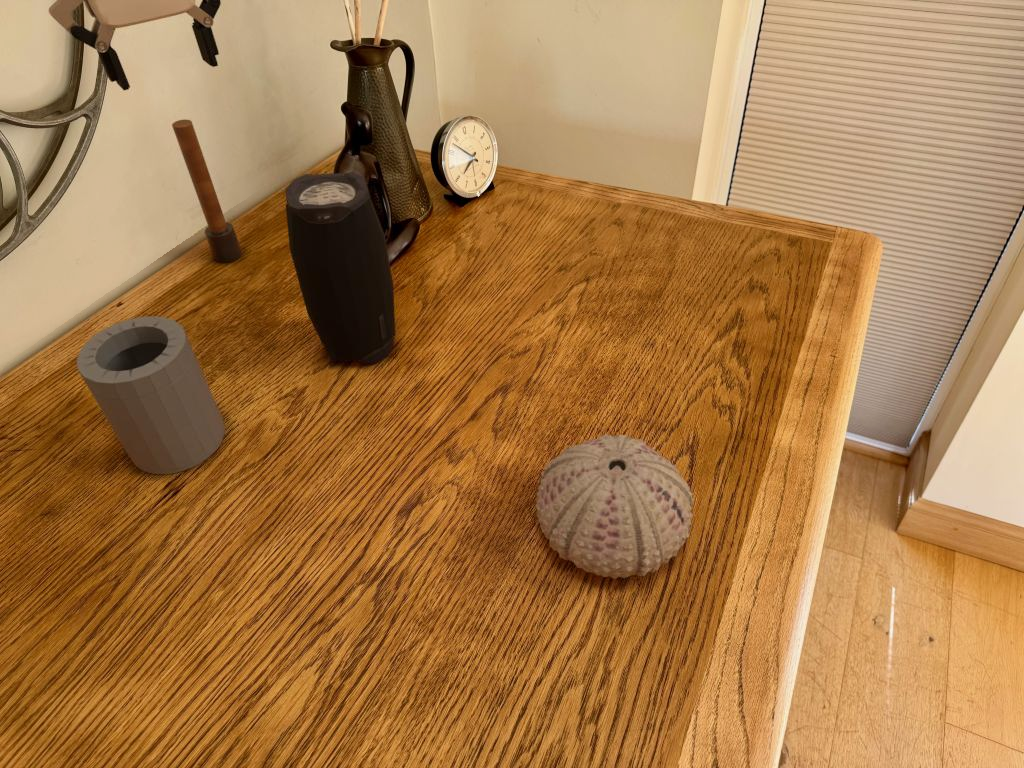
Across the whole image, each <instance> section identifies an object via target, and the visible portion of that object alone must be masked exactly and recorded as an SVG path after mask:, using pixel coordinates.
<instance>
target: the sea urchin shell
mask: <svg viewBox="0 0 1024 768" xmlns="http://www.w3.org/2000/svg"><path fill="white" fill-rule="evenodd" d="M543 469H544V470H543V471H541V472H540V474H541V479H540V484H539V485H538V488H537V489H538V492H537V493H536V494H535V496H536V497H537V498H536V499H535V503H536V504H535V506H534V507H535V509H536V510H537V512H536V517H537V518H538V519H537V520H538V523H539V524H540V525H539V527H540V529H541V533H543V534H544V537H545V538H546V539H547V540H549V548H552V551H555V552H557V553H558V556H559V559H563V560H566V561H571V562H572V563H573V564H574V565H575V567H576V568H577V569H582V570H583V571H584V572H586V573H593V574H594V575H596V576H598V577H599V576H602V577H603V578H607V577H609V578H612V579H613V580H616V579H618V578H622V579H625V578H628V577H630V576H638V577H645V576H646V575H647V574H648V573H651V574H654V573H655V572H656V571H658V570H659V568H660V567H661V565H662V564H668V563H669V561H670V559H671V558H674V557H677V555H678V553H679V550H680V548H682V547H683V546H685V545H684V544H685V543H686V540H687V539H688V538H689V537H690V535H689V532H690V531H691V530H692V529H691V525H692V518H693V514H692V512H691V511H692V509H693V504H694V503H695V499H694V498H693V495H694V494H693V492H691V491H690V490H691V487H690V485H689V483H688V482H687V481H685V478H684V477H683V476H681V474H680V471H679V469H677V468H676V465H675V464H672V462H671V460H669V459H667V458H665V457H664V456H663V455H661V453H659V452H658V451H656V450H655V449H653V448H652V447H651V446H649V445H648V444H647V443H645V442H644V440H643V438H642V439H640V438H637V439H635V438H633V437H631V436H629V435H625V434H614V435H612V436H611V435H610V434H607V433H605V434H602V435H601V436H599V437H596V438H592V439H588V440H586V441H583V442H580V443H578V444H573V445H569V446H568V448H564V450H563V452H561V454H559V455H558V456H556V457H554V458H552V459H551V460H550V461H548V462H547V463H546V466H545V467H544V468H543Z"/></svg>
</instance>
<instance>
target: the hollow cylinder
mask: <svg viewBox="0 0 1024 768" xmlns="http://www.w3.org/2000/svg"><path fill="white" fill-rule="evenodd" d="M76 368H77V371H78V373H79V375H80V376H81V378H82V380H83V382H84V384H85V385H86V387H87V389H88V390H89V391H90V393H91V395H92V396H93V398H94V400H95V402H96V403H97V405H98V407H99V409H100V410H101V412H102V414H103V415H104V417H105V418H106V420H107V422H108V423H109V425H110V427H111V429H112V430H113V432H114V434H115V435H116V437H117V438H118V440H119V443H120V444H121V446H122V447H123V449H124V450H125V452H126V454H127V456H128V457H129V459H130V460H131V461H132V463H133V464H134V465H135V467H137V468H138V469H139V470H141V471H143V472H145V473H148V474H153V475H171V474H176V473H177V474H178V473H180V472H181V473H182V472H184V471H187V470H189V469H192V468H194V467H197V466H198V465H200V464H201V463H203V462H205V461H206V460H208V458H210V457H211V456H212V455H213V454H214V453H215V452H216V451H217V450H218V448H219V447H220V446H221V444H222V442H223V440H224V437H225V433H226V424H225V421H224V419H223V417H222V414H221V412H220V409H219V407H218V404H217V402H216V400H215V398H214V395H213V393H212V391H211V388H210V386H209V384H208V381H207V379H206V376H205V375H204V372H203V370H202V368H201V365H200V363H199V361H198V358H197V356H196V354H195V351H194V349H193V347H192V344H191V343H190V340H189V338H188V336H187V333H186V331H185V328H184V327H183V326H182V325H180V324H179V322H177V320H174V319H171V318H168V317H165V316H156V315H155V316H154V315H150V316H140V317H134V318H133V317H132V318H128V319H125V320H122V321H119V322H116V323H114V324H112V325H111V326H107V327H106V328H104V329H102V330H100V331H99V332H98V333H96V334H95V335H93V336H92V337H90V338H89V339H88V340H87V341H86V343H85V344H84V345H83V346H82V347H81V348H80V350H79V353H78V355H77V358H76Z"/></svg>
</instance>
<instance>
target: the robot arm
mask: <svg viewBox="0 0 1024 768" xmlns="http://www.w3.org/2000/svg"><path fill="white" fill-rule="evenodd" d="M83 3H84V5H85V7H86V10H87V12H88V13H89V15H90V16H91V17H92V18H94V20H93V23H92V26H91V29H90V30H89V29H88V28H85V27H84V26H82V25H80V24H78V22H76V21H75V20H74V19H73V16H72V13H74V11H75V10H76V9H77V8H79V6H81V4H83ZM221 5H222V2H221V0H201V1H200V5H199V6H198V5H197V4H196V0H56V1H55V2H54V3H52V4H51V5H50V6H49V8H48V14H49V15H50V16H51V17H52V18H53V19H54V20H55V21H56V22H57V23H58V24H59V25H60V26H61V27H62V28H64V30H66V31H67V32H68V33H69V34H70V35H71V36H72V37H73V38H74V39H76V40H77V41H80V42H81V43H83V44H85V45H86V46H89V47H90V48H93V50H96V53H97V54H98V57H99V60H100V62H101V64H102V67H103V69H104V71H105V74H106V76H107V78H108V80H109V81H110V82H111V83H113V82H116V84H117V85H118V86H119V87H120V88H121V89H122V91H128V90H130V88H131V85H130V82H129V79H128V78H127V75H126V73H125V70H124V68H123V65H122V63H121V60H120V58H119V55H118V53H117V51H116V50H115V49H114V48H113V47H112V46H111V43H112V40H113V36H114V34H115V31H116V29H120V28H121V29H122V28H126V27H130V26H136V25H140V24H144V23H150V22H153V21H157V20H162V19H167V18H171V17H175V16H179V15H182V14H185V13H186V14H187V15H189V16H190V17H191V18H192V19H193V22H192V25H191V29H192V31H193V35H194V37H195V38H194V39H195V40H196V44H197V47H198V50H199V54H200V56H201V59H202V60H203V62H205V63H206V64H207V65H209V66H210V67H213V68H214V67H218V66H219V64H218V59H217V57H216V56H218V55H219V54H220V52H219V49H218V46H217V42H216V39H215V36H214V33H213V29H212V27H213V26H214V22H215V21H214V19H215V17H216V15H217V13H218V11H219V9H220V7H221Z"/></svg>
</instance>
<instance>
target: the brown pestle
mask: <svg viewBox="0 0 1024 768" xmlns="http://www.w3.org/2000/svg"><path fill="white" fill-rule="evenodd" d="M171 126H172V130H173V132H174V135H175V138H176V140H177V144H178V146H179V150H180V152H181V154H182V157H183V160H184V163H185V166H186V168H187V171H188V174H189V177H190V179H191V183H192V185H193V189H194V190H195V193H196V197H197V199H198V202H199V204H200V207H201V210H202V213H203V215H204V218H205V221H206V225H207V227H206V228H205V229H204V235H205V239H206V240H207V241H206V242H207V244H208V247H209V249H210V252H211V254H212V257H213V260H214V261H215V262H217V263H220V264H227V263H231V262H235V261H237V260H238V259H240V258H241V256H242V255H243V254H242V253H243V251H242V248H241V245H240V242H239V240H238V237H237V234H236V231H235V227H234V225H233V224H232V223H230V222H227V221H226V218H225V215H224V213H223V210H222V207H221V204H220V201H219V198H218V195H217V191H216V189H215V187H214V183H213V180H212V177H211V174H210V171H209V169H208V166H207V162H206V159H205V156H204V153H203V150H202V148H201V145H200V142H199V139H198V136H197V133H196V130H195V127H194V124H193V121H192V120H191V119H179V120H176V121H174V122H172V124H171Z"/></svg>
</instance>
